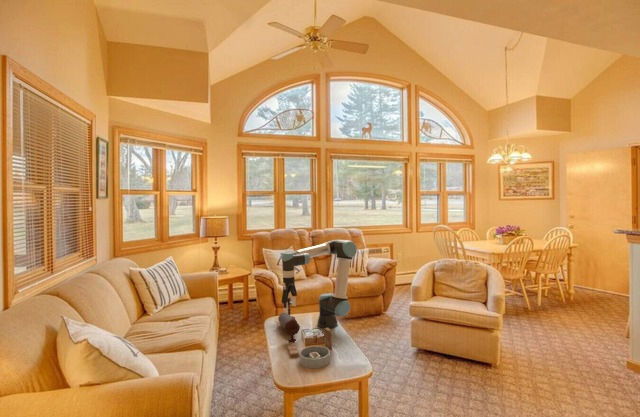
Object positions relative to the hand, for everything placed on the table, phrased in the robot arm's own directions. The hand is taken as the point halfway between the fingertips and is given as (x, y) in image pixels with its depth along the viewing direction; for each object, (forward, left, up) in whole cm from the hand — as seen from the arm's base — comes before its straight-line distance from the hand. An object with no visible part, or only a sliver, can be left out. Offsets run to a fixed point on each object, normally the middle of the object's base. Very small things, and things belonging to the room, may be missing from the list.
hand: (290, 309), depth 218 cm
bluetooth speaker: (-6, -27, -24) cm, 36 cm away
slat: (+2, +10, -24) cm, 26 cm away
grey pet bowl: (-6, +26, -24) cm, 36 cm away
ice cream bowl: (-3, -7, -24) cm, 25 cm away
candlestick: (-14, -48, -24) cm, 55 cm away
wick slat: (-20, +14, -24) cm, 34 cm away
